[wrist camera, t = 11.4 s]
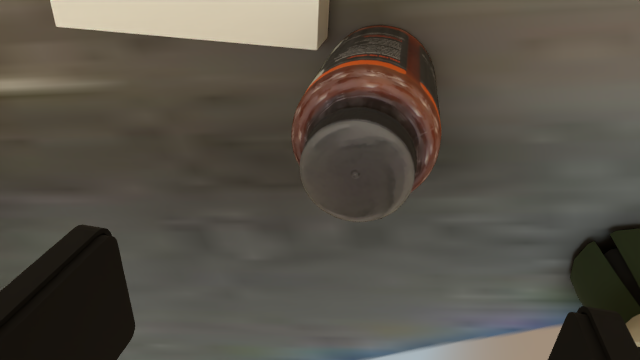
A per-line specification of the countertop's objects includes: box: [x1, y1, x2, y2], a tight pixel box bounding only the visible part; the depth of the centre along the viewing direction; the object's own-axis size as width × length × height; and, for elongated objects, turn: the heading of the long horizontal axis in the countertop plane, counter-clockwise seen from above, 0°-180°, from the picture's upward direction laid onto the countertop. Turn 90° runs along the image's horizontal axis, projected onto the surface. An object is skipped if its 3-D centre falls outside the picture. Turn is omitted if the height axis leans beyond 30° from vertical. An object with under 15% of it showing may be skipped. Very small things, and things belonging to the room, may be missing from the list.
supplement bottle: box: [291, 25, 441, 222], centre depth 20 cm, size 6×6×11 cm
